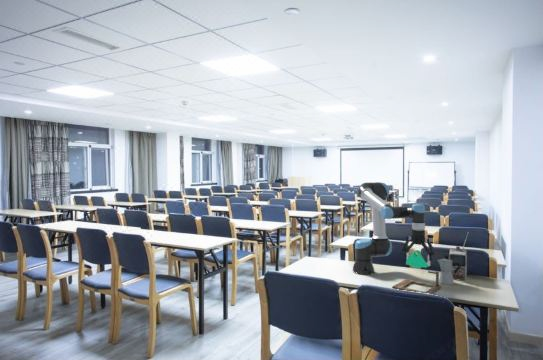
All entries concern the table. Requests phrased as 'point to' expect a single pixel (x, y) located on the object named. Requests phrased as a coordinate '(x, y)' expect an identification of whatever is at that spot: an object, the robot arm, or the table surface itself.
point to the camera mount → (416, 260)
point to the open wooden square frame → (407, 282)
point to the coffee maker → (447, 270)
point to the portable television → (461, 258)
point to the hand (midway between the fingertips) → (418, 264)
